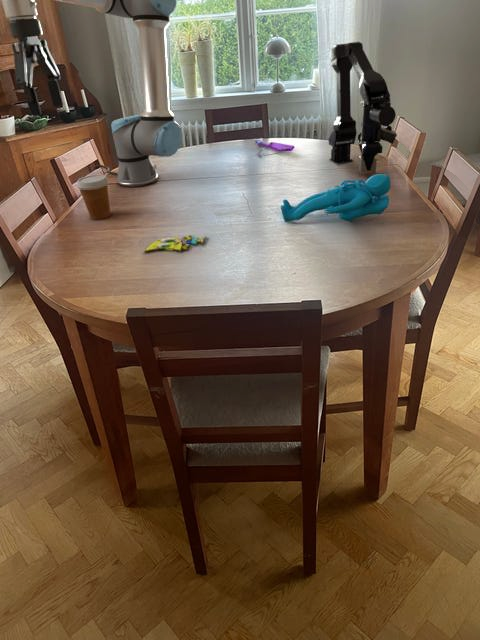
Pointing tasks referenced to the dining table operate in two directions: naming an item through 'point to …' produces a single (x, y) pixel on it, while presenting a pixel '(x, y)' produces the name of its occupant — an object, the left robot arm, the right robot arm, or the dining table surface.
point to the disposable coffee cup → (95, 195)
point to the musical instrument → (275, 146)
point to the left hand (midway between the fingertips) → (48, 110)
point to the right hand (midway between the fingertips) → (367, 168)
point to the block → (363, 167)
